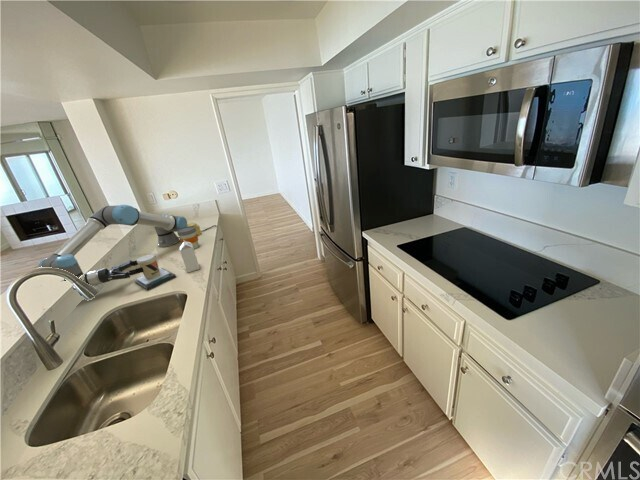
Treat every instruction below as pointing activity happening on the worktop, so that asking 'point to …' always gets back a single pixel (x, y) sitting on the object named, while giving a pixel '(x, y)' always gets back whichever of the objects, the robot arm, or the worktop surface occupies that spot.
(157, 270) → the coffee cup
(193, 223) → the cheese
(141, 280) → the scale
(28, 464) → the worktop surface
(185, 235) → the reusable coffee cup
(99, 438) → the worktop surface
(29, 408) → the worktop surface
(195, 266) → the milk carton
